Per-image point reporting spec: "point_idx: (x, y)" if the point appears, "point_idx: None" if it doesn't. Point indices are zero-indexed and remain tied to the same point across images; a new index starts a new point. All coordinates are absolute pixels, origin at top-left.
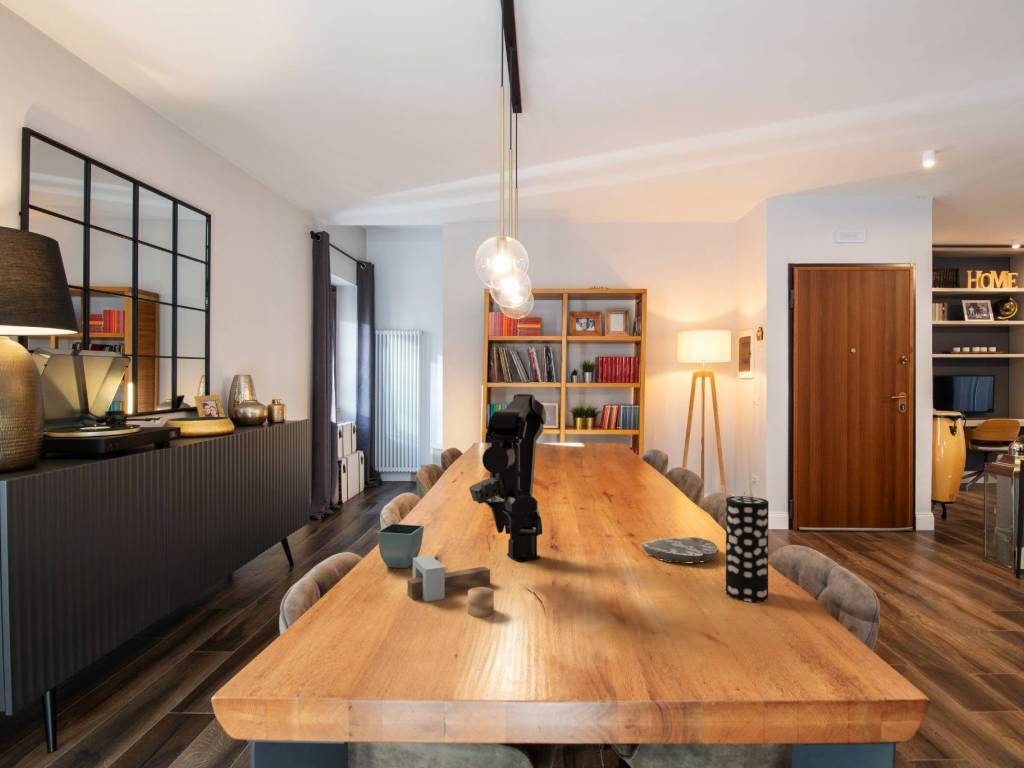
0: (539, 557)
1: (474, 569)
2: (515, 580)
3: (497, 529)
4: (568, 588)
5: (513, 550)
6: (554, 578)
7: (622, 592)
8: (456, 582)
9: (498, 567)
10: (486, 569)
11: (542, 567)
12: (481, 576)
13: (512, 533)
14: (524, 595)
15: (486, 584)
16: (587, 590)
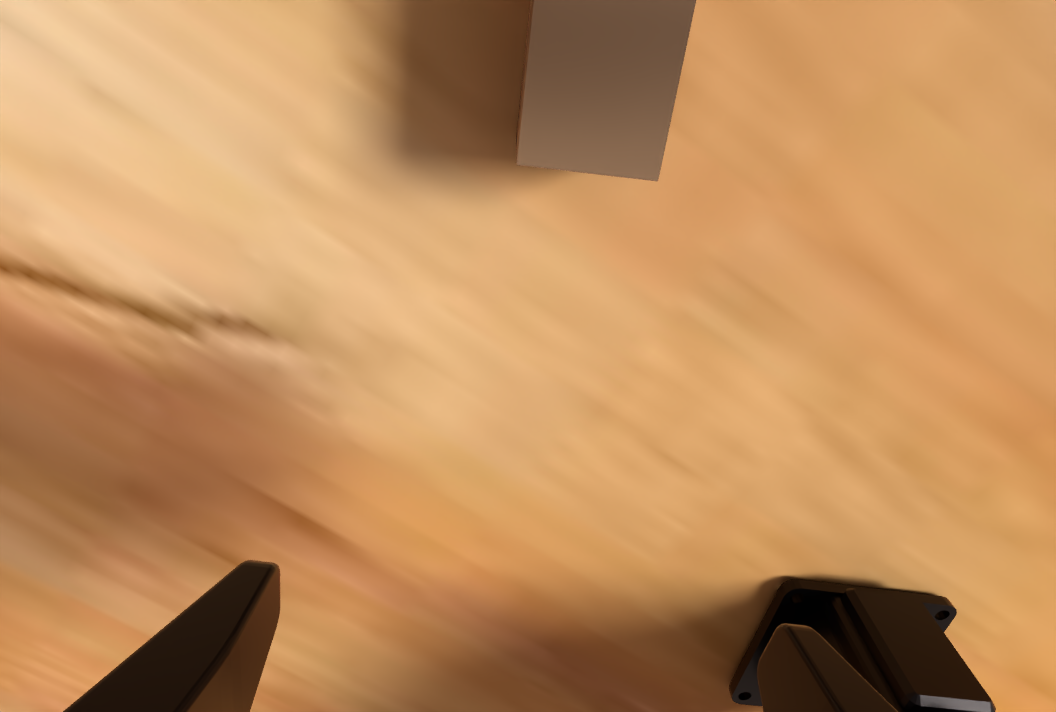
0: (730, 693)
1: (644, 8)
2: (486, 367)
3: (826, 664)
4: (168, 533)
5: (871, 634)
6: (376, 570)
7: (2, 684)
8: None
9: (808, 428)
10: (552, 136)
11: (594, 623)
12: (528, 41)
13: (136, 666)
14: (147, 230)
15: (520, 99)
16: (93, 587)
